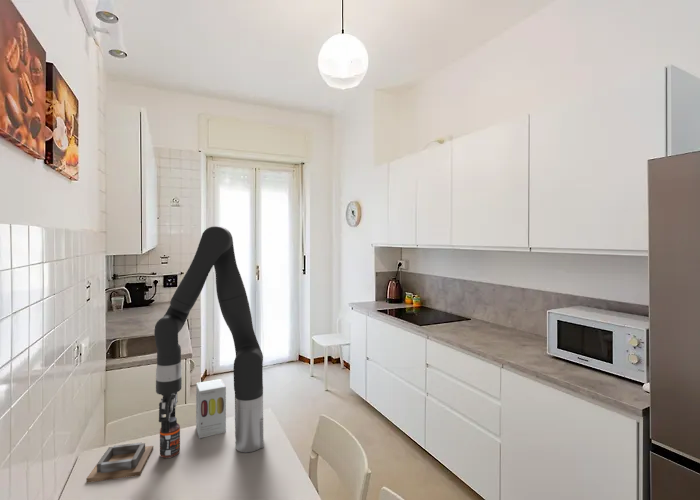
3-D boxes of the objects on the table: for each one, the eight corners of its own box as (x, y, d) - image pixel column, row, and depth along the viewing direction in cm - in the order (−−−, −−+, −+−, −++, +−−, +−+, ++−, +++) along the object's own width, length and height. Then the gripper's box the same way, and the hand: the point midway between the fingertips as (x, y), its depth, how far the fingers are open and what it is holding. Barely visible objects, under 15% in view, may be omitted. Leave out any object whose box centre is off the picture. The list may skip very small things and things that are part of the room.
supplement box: (198, 439, 130) (197, 391, 129) (195, 427, 138) (194, 382, 138) (226, 432, 135) (226, 386, 134) (222, 421, 143) (221, 377, 142)
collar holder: (153, 449, 124) (153, 438, 123) (140, 475, 110) (140, 463, 110) (105, 455, 120) (105, 443, 120) (86, 482, 107) (86, 470, 106)
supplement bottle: (172, 460, 118) (171, 424, 117) (155, 457, 119) (155, 423, 118) (184, 449, 123) (183, 416, 123) (168, 447, 125) (167, 414, 124)
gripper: (176, 383, 114) (176, 435, 115) (185, 368, 128) (185, 414, 129) (149, 385, 112) (149, 438, 113) (161, 369, 126) (161, 416, 127)
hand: (168, 425), depth 121 cm, fingers open, 8 cm apart
